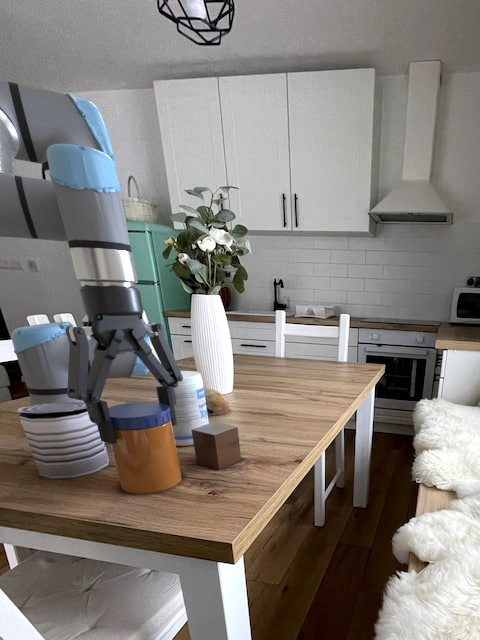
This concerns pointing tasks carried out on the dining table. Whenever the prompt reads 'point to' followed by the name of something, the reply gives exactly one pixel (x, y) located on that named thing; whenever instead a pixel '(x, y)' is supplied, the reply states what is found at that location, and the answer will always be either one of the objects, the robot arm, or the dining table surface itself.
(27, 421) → the can
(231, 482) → the dining table surface
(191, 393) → the supplement tub
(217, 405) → the bread roll
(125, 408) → the lid
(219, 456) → the cube
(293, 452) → the dining table surface
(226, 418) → the dining table surface
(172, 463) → the jar
